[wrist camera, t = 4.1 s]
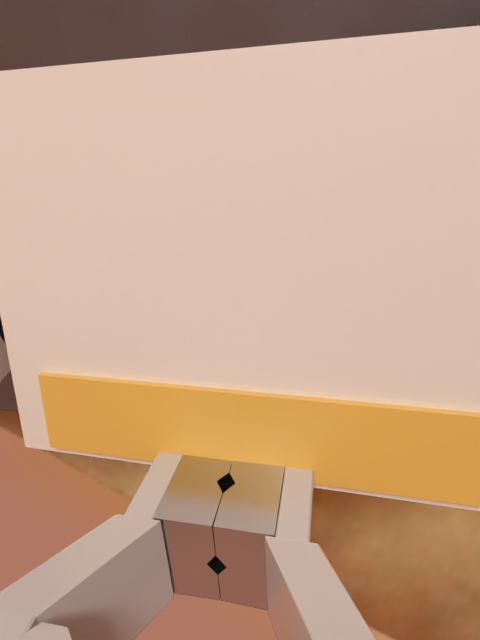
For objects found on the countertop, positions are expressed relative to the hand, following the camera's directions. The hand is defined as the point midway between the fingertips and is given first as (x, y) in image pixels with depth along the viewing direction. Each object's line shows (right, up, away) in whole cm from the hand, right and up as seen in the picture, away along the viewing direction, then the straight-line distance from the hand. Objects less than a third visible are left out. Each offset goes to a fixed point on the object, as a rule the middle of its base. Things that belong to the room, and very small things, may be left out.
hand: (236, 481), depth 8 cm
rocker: (0, +4, -1) cm, 4 cm away
